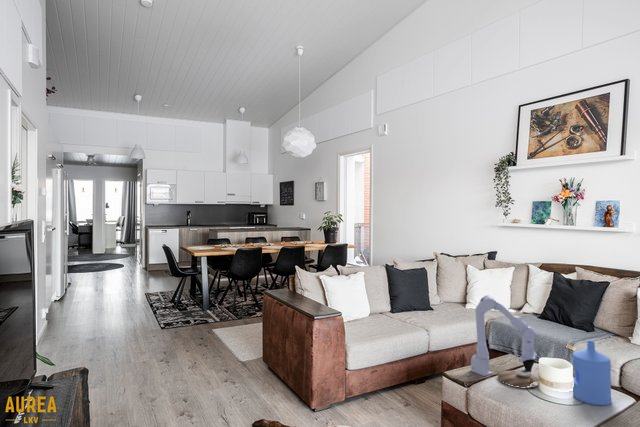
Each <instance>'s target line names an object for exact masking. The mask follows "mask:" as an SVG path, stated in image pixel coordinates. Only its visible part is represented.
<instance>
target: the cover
mask: <svg viewBox="0 0 640 427" xmlns="http://www.w3.org/2000/svg"><path fill="white" fill-rule="evenodd" d="M515 371H516V375H517V376H518V377H521V378H530V377H531V375H532V371H531V372H530V371H529V370H526V369H525V368H517V369H515Z"/></svg>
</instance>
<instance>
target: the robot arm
mask: <svg viewBox="0 0 640 427" xmlns="http://www.w3.org/2000/svg"><path fill="white" fill-rule="evenodd" d="M491 310H494V311H499V312H501V313H502V314H503V315H504V316H505V317H506V318H508V319H509V322H510V323H509V324H511V325H512V326H513V327H514V328H515V329H516V330H517V331H518V332H520V333H521V334H522V335H521V336H522V338H521V341H522V342H521V346H522V347H521V348H522V352H521V355H520V357H518V362H520V363H522V364H523V367H524V369H526V370H529V371H530V372H531V373H532V369H533V366H534V364H535V362H536V358H538V354H537V353H535V352H534V351H535V350H534V349H535V347H534V346H535V345H534V343H535V341H534V337H535V331H534V329H533V328H532V326H531V325H529V323H526V322H525V321H524V320H523V318H522V317H521V316H519V315H514V314H513V313H512V312H510V310H509V309H508V308H507V307H506V306H504V304H502V303H501V302H500V301H499V300H497V299H496V298H494V297H493V296H492V295H489V294H487V295H484V296H483V297H481V298H480V300H479V302H478V304H477V305H476V307H475V311H474V312H475V324H476V325H475V326H476V339H477V340H476V341H477V342H476V345H475V350H476V353H475V354H473V355H472V356H471V358H470V368H471V369H470V372H472V373H475V374H477V375H480V376H483V377H486V376H489V375H491V374H494V373H493V371H490V353H489V350H488V346H487V338H486V324H485V322H486V321H485V314H486V313H487V312H488V311H491Z"/></svg>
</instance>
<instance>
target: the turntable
mask: <svg viewBox="0 0 640 427" xmlns="http://www.w3.org/2000/svg"><path fill="white" fill-rule="evenodd" d="M497 378H499V379H498V381H500V380H501V381H502V382H504V383H507V384H510V385H513V386H519V387H527V386H530V384H531V383H533V382H535V381H538V380H539V378H538V377H536V376H535V375H533V374H531V377H530V378H521V377H518V376H517V375H516V370H503V371H500V372H499V373H498V374H497ZM501 381H500V382H501ZM502 382H501V383H502ZM504 383H503V384H504ZM513 386H512V387H513Z"/></svg>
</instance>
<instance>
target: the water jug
mask: <svg viewBox="0 0 640 427" xmlns="http://www.w3.org/2000/svg"><path fill="white" fill-rule="evenodd" d="M586 342H587V344H586V349H583V350H577V351H574V352H573V353H572V366H573V368H574V369H575V378H574V388H573V389H572V395H573V396H574V397H575V399H577V400H578V401H580V402H582V403H586V404H589V405H592V406H600V407H601V406H608V405H611V403H612V389H611V388H612V378H611V377H612V376H611V374H612V373H611V368H612V364H611V359H610V357H608V356H607V355H605V354H603V353H601V352H599V351H597V350H596V346H595V344H596V342H595V341H593V340H586Z"/></svg>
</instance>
